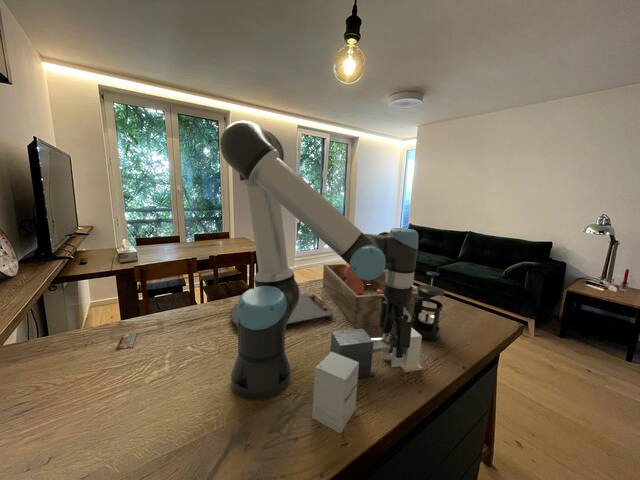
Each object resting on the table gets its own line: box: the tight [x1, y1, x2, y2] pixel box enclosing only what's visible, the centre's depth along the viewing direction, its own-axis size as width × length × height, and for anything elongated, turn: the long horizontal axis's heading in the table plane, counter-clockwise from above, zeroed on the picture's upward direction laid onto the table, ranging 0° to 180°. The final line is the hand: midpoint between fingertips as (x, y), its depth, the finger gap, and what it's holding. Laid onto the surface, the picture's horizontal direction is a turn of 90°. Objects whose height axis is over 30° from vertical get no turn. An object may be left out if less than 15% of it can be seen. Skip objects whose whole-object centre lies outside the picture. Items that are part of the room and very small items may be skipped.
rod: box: [370, 332, 407, 354], centre depth 78 cm, size 16×5×5 cm, turn 105°
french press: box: [412, 271, 446, 342], centre depth 96 cm, size 12×9×23 cm
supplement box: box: [311, 351, 359, 434], centre depth 60 cm, size 7×7×13 cm
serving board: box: [230, 293, 333, 328], centre depth 107 cm, size 39×23×6 cm, turn 117°
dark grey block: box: [330, 328, 376, 380], centre depth 76 cm, size 11×9×10 cm
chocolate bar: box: [114, 332, 139, 352], centre depth 85 cm, size 11×5×1 cm, turn 25°
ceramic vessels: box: [344, 261, 382, 296], centre depth 120 cm, size 35×21×19 cm, turn 25°
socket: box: [389, 328, 424, 373], centre depth 81 cm, size 6×9×10 cm, turn 16°
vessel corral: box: [322, 263, 423, 329], centre depth 122 cm, size 27×41×12 cm, turn 15°
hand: (390, 359), depth 80 cm, fingers closed on rod, 5 cm apart
